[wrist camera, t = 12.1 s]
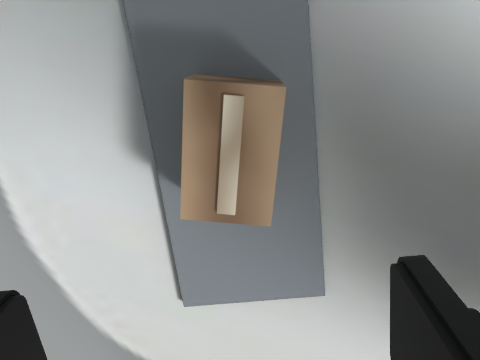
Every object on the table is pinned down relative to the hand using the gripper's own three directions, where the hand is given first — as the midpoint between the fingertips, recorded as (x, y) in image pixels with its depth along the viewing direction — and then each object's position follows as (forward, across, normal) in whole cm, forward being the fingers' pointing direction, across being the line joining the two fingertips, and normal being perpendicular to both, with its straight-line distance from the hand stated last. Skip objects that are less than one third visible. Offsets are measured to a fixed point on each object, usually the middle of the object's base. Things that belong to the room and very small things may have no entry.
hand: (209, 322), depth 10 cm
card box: (+20, 0, 0) cm, 20 cm away
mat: (+20, 0, 0) cm, 20 cm away
